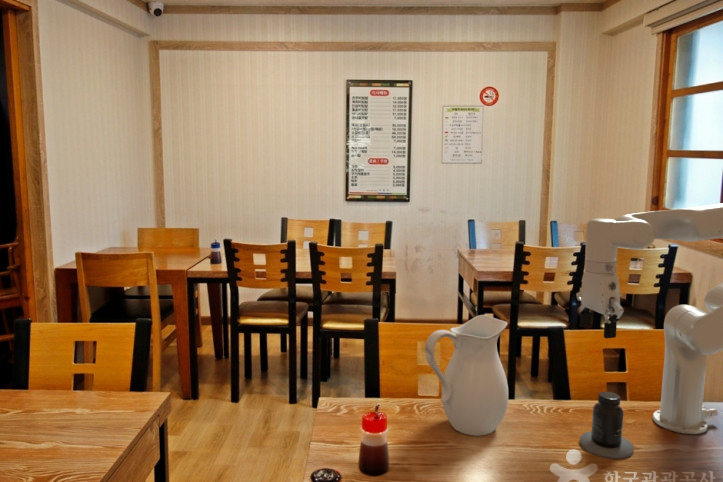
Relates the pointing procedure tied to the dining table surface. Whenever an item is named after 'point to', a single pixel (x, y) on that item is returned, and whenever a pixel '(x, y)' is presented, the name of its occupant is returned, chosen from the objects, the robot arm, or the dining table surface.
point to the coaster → (612, 453)
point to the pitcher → (472, 376)
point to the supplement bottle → (607, 421)
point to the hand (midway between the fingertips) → (597, 331)
